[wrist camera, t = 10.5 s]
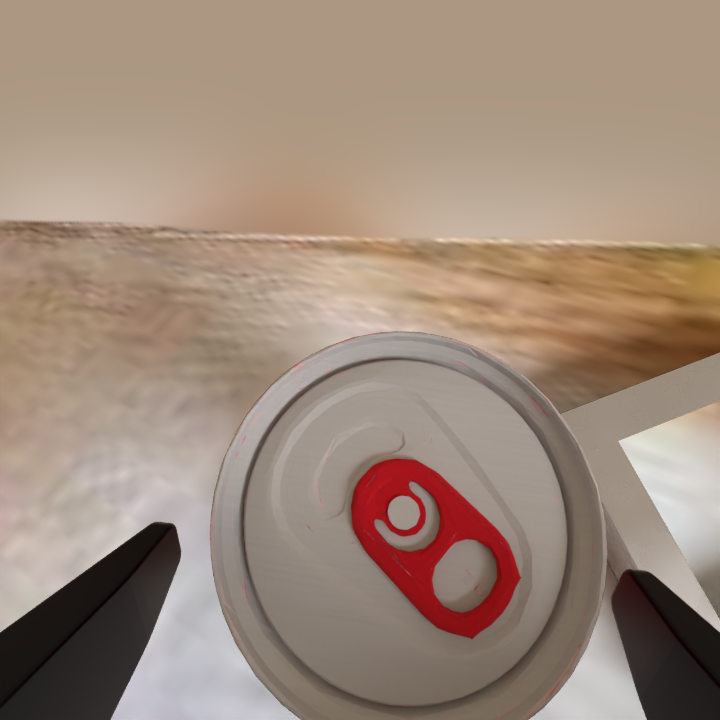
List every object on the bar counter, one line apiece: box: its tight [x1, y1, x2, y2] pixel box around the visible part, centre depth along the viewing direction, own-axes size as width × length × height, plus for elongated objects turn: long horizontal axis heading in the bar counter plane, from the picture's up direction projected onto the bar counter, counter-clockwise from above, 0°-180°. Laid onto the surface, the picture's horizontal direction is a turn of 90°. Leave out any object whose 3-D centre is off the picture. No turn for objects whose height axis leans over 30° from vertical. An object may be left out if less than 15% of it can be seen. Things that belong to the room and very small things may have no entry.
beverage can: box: [210, 332, 607, 720], centre depth 11 cm, size 6×6×12 cm
